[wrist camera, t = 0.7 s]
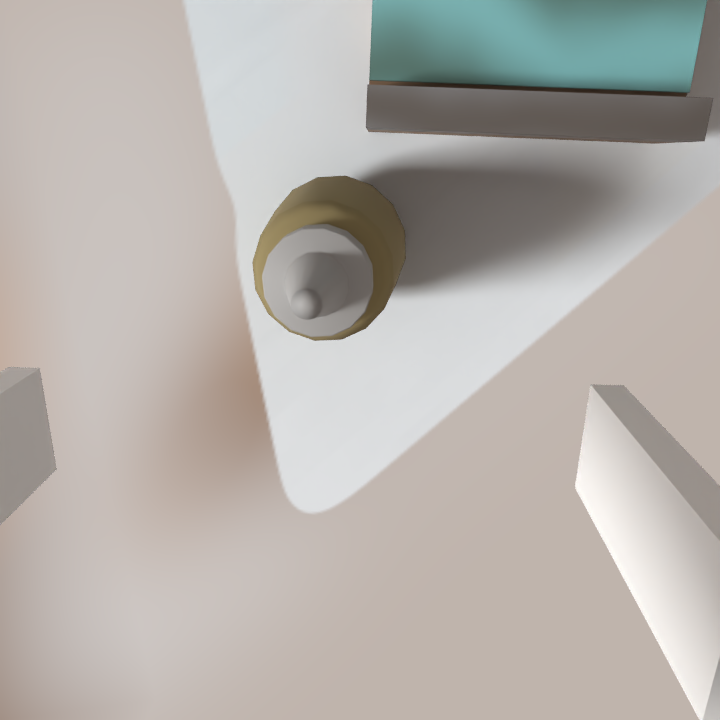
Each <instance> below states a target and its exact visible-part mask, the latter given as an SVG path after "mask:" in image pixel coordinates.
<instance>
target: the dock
mask: <svg viewBox="0 0 720 720" xmlns="http://www.w3.org/2000/svg"><path fill="white" fill-rule="evenodd" d="M706 3H707V0H373V4H372V28H371V53H370V77H369V80H370V81H369V85H368V88H367V113H366V128H367V130H368V131H369V132H388V133H413V134H437V135H461V136H486V137H510V138H535V139H559V140H584V141H608V142H633V143H675V142H696V141H705V136H706V131H707V126H708V121H709V116H710V111H711V106H712V101H713V98H700V97H686V96H687V93H689V92H690V88H691V83H692V77H693V72H694V67H695V61H696V56H697V51H698V46H699V40H700V35H701V30H702V25H703V19H704V14H705V9H706Z"/></svg>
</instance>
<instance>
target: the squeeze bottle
mask: <svg viewBox="0 0 720 720" xmlns="http://www.w3.org/2000/svg"><path fill="white" fill-rule="evenodd" d="M405 259H406V255H405V230H404V228H403V226H402V224H401V221H400V219H399V217H398V215H397V212H396V210H395V208H394V206H393V204H392V203H390V202H389V201H388V200H387V199H386V198H385V197H384V196H383V195H382V194H381V193H380V192H379V191H378V190H377V189H376V188H374V187H373V186H372V185H369V184H367V183H364V182H361V181H359V180H356V179H353V178H350V177H348V176H333V177H317V178H315V179H313V180H311V181H309V182H308V183H306V184H304V185H302V186H300V187H298V188H296V189H294V190H292V191H291V193H290V194H289V195H288V196H287V197H286V199H285V200H284V201H283V202H282V203H281V205H280V206H279V207H278V208H277V210H276V211H275V212H274V214H273V216H272V217H271V219H270V221H269V222H268V224H267V226H266V227H265V229H264V231H263V232H262V234H261V236H260V239H259V242H258V246H257V249H256V252H255V256H254V259H253V271H254V280H255V289H256V292H257V293H258V295H259V297H260V299H261V301H262V303H263V305H264V307H265V308H266V310H267V312H268V314H269V315H270V316H271V317H273V318H274V319H275V320H276V321H277V322H278V323H280V324H281V325H282V326H283V327H284V328H286V329H287V330H288V331H289V332H292V333H295V334H297V335H300V336H303V337H306V338H309V339H312V340H315V341H316V340H339V339H344V338H346V337H348V336H350V335H352V334H355V333H357V332H359V331H361V330H363V329H366V328H367V327H368V326H369V325H370V323H371V322H372V321H373V320H374V319H375V318H376V317H377V316H378V315H379V314H380V313H381V312H382V311H383V310H384V308H385V306H386V304H387V302H388V300H389V298H390V296H391V293H392V291H393V289H394V287H395V285H396V283H397V280H398V277H399V275H400V272H401V269H402V267H403V264H404V261H405Z"/></svg>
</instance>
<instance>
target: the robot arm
mask: <svg viewBox="0 0 720 720" xmlns="http://www.w3.org/2000/svg"><path fill="white" fill-rule="evenodd" d="M55 470H56V463H55V457H54V451H53V445H52V439H51V433H50V428H49V422H48V415H47V409H46V403H45V397H44V391H43V385H42V379H41V373H40V368H18V367H8V368H6V369H5V370H3V371H2V372H0V525H1V524H2V523H3V522H4V521H5V520H6V519H7V518H8V517H9V516H10V515H11V514H12V513H13V512H14V511H15V510H16V509H17V508H18V507H19V506H20V505H21V504H22V503H23V502H24V501H25V500H26V499H27V498H28V497H29V496H30V495H31V494H32V493H33V492H34V491H35V490H36V489H37V488H38V487H39V486H40V485H41V484H42V483H43V482H44V481H45V480H46V479H47V478H48V477H49V476H50V475H51V474H52V473H53V472H54V471H55ZM575 488H576V490H577V492H578V494H579V496H580V498H581V500H582V501H583V503H584V505H585V507H586V509H587V511H588V513H589V514H590V516H591V518H592V520H593V522H594V524H595V526H596V528H597V529H598V531H599V533H600V535H601V537H602V539H603V541H604V542H605V544H606V546H607V548H608V550H609V551H610V554H611V555H612V557H613V559H614V561H615V563H616V565H617V567H618V569H619V570H620V572H621V574H622V576H623V578H624V580H625V582H626V584H627V585H628V587H629V589H630V591H631V593H632V595H633V597H634V598H635V600H636V602H637V604H638V606H639V608H640V610H641V611H642V613H643V615H644V617H645V619H646V621H647V623H648V625H649V626H650V628H651V630H652V632H653V634H654V636H655V638H656V640H657V641H658V643H659V645H660V647H661V649H662V651H663V653H664V654H665V656H666V658H667V660H668V662H669V664H670V666H671V667H672V669H673V671H674V673H675V675H676V677H677V679H678V681H679V682H680V684H681V686H682V688H683V690H684V692H685V694H686V696H687V697H688V699H689V701H690V703H691V705H692V707H693V709H694V710H695V712H696V714H697V716H698V718H699V720H720V486H719V485H718V484H717V483H716V482H715V480H714V479H713V478H712V477H711V476H710V475H709V474H708V473H707V472H706V471H705V470H704V469H703V468H702V467H701V466H700V465H699V464H698V463H697V462H696V461H695V460H694V458H692V457H691V456H690V454H689V453H688V452H687V451H686V450H685V449H684V448H683V447H682V446H681V445H680V444H679V443H678V442H677V441H676V440H675V439H674V438H673V437H672V435H671V434H670V433H668V431H667V430H666V429H665V428H664V427H663V426H662V425H661V424H660V423H659V422H658V421H657V420H656V419H655V418H654V417H653V416H652V415H651V413H650V412H649V411H648V410H647V409H646V408H645V407H644V406H643V405H642V404H641V403H640V402H639V401H638V400H637V399H636V398H635V397H634V396H633V395H632V394H631V393H630V392H629V390H628V389H627V388H626V387H624V386H622V385H590V391H589V398H588V405H587V411H586V418H585V425H584V431H583V438H582V445H581V451H580V458H579V465H578V471H577V478H576V485H575Z"/></svg>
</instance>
